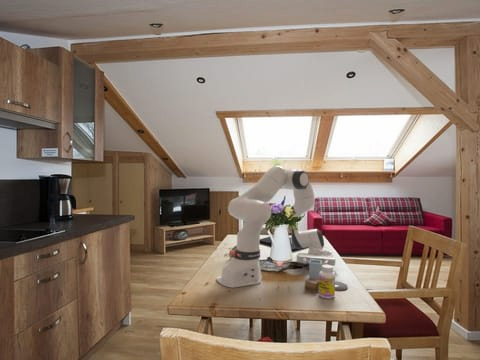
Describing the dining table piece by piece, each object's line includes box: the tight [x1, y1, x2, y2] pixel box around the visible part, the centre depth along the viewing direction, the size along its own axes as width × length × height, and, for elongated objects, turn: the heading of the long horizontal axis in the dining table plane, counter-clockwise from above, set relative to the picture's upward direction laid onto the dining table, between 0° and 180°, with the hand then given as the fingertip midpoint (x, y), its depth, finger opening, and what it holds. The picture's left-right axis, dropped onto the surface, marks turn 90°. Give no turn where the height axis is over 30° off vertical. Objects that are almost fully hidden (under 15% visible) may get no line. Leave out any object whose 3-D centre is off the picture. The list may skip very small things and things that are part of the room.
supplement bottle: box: [318, 265, 336, 300], centre depth 129 cm, size 7×7×13 cm
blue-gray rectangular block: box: [308, 259, 322, 280], centre depth 145 cm, size 6×6×10 cm
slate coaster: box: [335, 280, 349, 292], centre depth 140 cm, size 10×10×1 cm
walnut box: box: [304, 278, 319, 293], centre depth 136 cm, size 5×5×4 cm
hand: (315, 263), depth 156 cm, fingers open, 8 cm apart
